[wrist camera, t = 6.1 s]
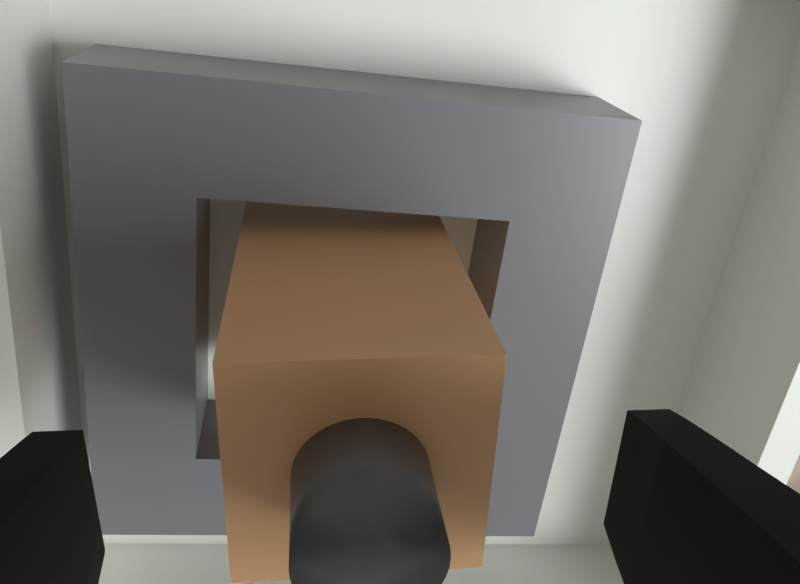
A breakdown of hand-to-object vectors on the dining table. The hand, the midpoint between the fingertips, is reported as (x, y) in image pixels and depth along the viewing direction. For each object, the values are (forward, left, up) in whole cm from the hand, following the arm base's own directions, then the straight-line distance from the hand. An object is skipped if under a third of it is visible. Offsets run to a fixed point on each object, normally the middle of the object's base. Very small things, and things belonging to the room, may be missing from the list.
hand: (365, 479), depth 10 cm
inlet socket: (0, 0, -6) cm, 6 cm away
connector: (0, 0, -6) cm, 6 cm away
